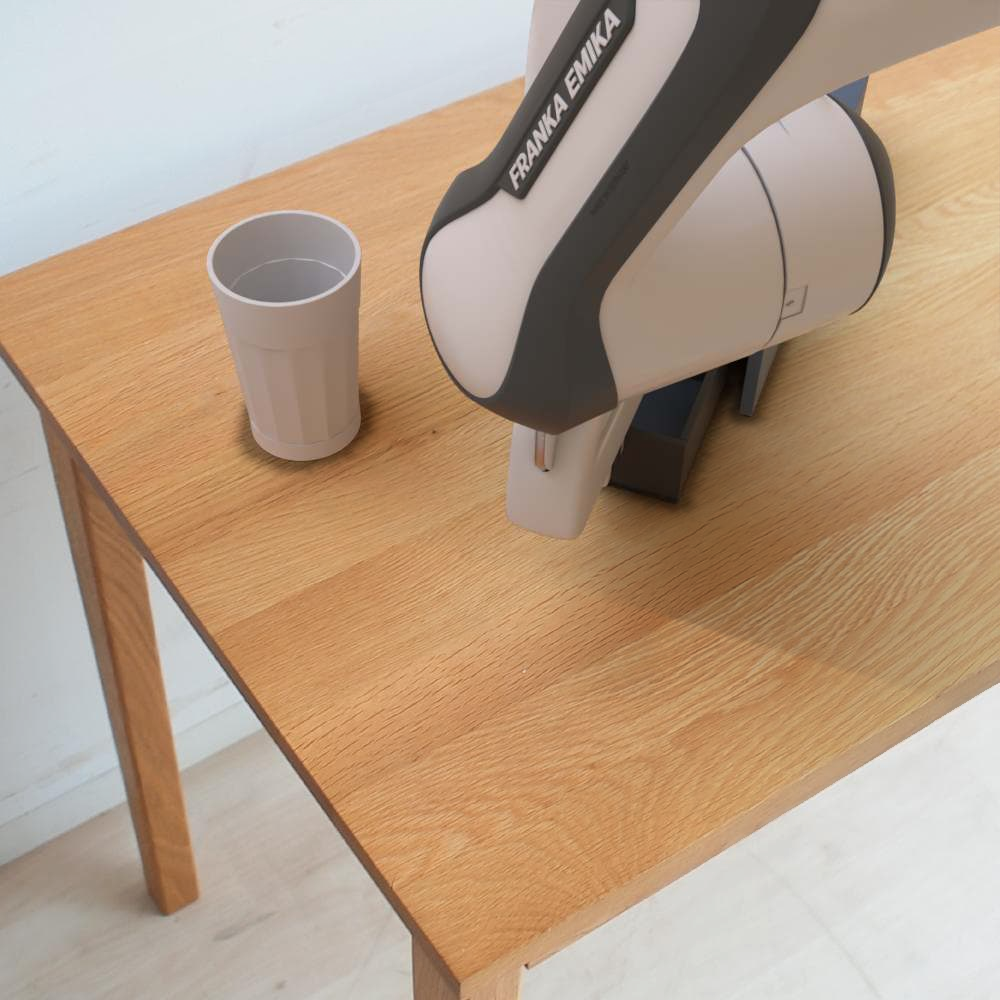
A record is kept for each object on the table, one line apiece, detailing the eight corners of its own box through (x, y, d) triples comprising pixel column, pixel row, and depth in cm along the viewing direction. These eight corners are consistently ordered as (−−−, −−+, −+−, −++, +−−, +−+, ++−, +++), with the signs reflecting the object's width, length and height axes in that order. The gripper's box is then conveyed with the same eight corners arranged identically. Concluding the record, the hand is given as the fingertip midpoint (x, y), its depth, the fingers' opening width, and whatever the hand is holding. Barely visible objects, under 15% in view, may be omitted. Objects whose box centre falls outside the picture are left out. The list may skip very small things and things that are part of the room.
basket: (677, 504, 79) (685, 446, 76) (540, 466, 81) (542, 409, 78) (723, 387, 86) (733, 329, 82) (595, 355, 87) (599, 297, 84)
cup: (370, 471, 81) (356, 306, 72) (228, 471, 81) (196, 305, 72) (379, 374, 86) (366, 209, 77) (245, 374, 86) (217, 209, 77)
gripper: (612, 427, 60) (594, 629, 70) (736, 158, 73) (705, 362, 83) (470, 390, 61) (473, 593, 72) (616, 133, 74) (601, 336, 84)
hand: (599, 467), depth 77 cm, fingers closed
